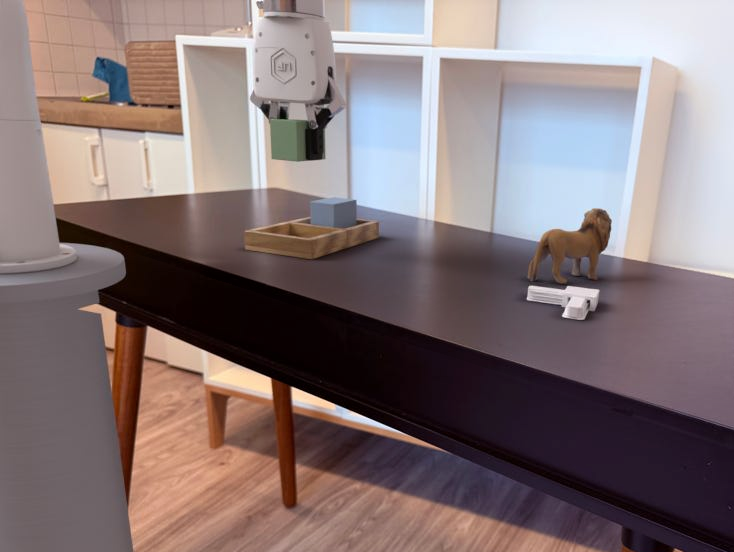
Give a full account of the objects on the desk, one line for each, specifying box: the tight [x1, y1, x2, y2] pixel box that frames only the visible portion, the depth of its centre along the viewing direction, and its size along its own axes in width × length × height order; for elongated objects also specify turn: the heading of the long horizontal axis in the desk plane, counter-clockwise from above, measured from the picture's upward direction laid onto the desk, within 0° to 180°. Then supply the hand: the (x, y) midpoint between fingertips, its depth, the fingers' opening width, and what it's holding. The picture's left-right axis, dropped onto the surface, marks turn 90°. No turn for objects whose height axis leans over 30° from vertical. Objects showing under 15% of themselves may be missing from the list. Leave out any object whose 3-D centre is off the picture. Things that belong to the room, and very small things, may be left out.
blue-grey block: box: [309, 196, 357, 229], centre depth 102 cm, size 7×4×5 cm, turn 162°
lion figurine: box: [527, 207, 613, 285], centre depth 87 cm, size 15×5×9 cm, turn 136°
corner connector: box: [526, 285, 600, 321], centre depth 74 cm, size 8×8×2 cm
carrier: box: [243, 216, 380, 260], centre depth 99 cm, size 20×10×3 cm, turn 162°
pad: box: [269, 118, 327, 163], centre depth 90 cm, size 7×4×5 cm, turn 161°
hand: (299, 157), depth 90 cm, fingers closed on pad, 4 cm apart
